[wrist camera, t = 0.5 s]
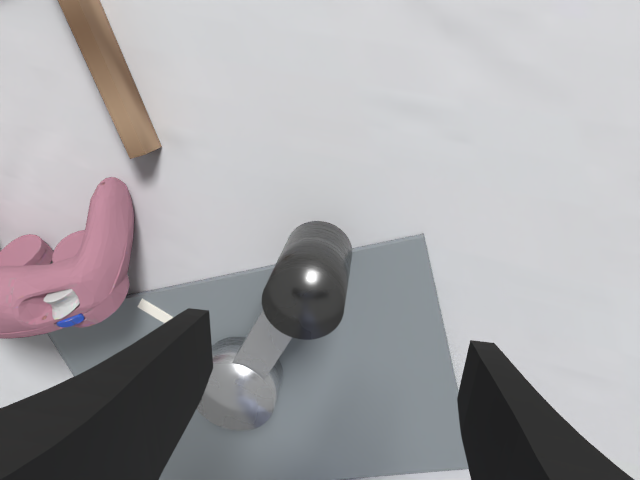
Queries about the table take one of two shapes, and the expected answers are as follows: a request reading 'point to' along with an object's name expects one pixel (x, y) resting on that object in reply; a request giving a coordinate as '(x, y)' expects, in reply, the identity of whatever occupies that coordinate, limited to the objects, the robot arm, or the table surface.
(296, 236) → the crank
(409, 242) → the plate
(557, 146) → the table surface
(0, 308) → the video game controller
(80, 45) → the bay
